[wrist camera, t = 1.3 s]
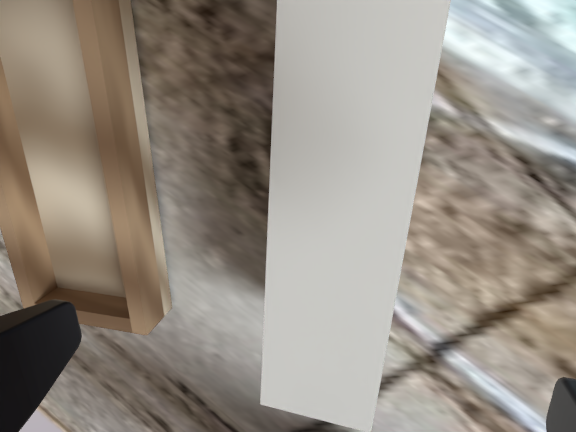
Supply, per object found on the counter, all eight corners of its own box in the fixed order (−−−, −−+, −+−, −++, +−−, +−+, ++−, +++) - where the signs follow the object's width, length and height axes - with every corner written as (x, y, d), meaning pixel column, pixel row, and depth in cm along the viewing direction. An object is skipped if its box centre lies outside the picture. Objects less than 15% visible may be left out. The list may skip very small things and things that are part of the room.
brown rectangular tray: (172, 307, 23) (146, 335, 20) (59, 290, 24) (25, 314, 22) (120, -75, 16) (76, -93, 14) (-28, -61, 18) (-87, -75, 16)
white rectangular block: (381, 328, 20) (371, 433, 15) (299, 311, 21) (260, 404, 15) (440, -7, 14) (457, -37, 9) (325, -11, 15) (278, -41, 10)
